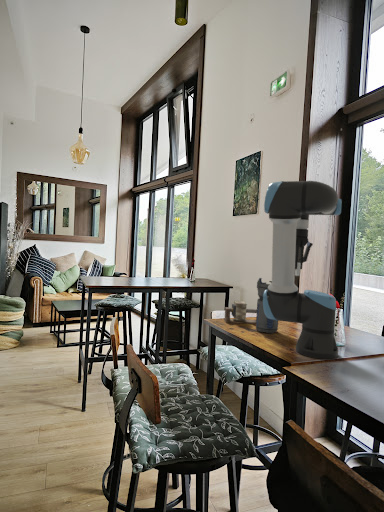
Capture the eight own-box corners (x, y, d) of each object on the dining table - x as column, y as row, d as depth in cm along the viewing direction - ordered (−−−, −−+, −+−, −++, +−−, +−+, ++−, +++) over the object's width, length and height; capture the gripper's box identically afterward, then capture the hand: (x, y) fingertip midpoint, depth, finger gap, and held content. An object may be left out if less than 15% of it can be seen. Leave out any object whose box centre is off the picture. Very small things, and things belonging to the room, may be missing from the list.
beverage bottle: (285, 334, 158) (289, 280, 157) (257, 333, 157) (260, 279, 156) (278, 329, 168) (281, 278, 168) (251, 328, 167) (254, 277, 166)
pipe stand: (264, 321, 184) (265, 308, 184) (268, 324, 177) (269, 311, 177) (224, 319, 183) (224, 306, 183) (226, 322, 176) (226, 309, 176)
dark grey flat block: (233, 314, 183) (234, 304, 182) (235, 316, 177) (236, 305, 177) (231, 314, 183) (232, 304, 182) (233, 316, 177) (233, 305, 177)
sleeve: (242, 317, 184) (243, 301, 184) (245, 320, 176) (246, 303, 176) (233, 316, 184) (234, 300, 184) (235, 320, 176) (236, 303, 175)
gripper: (310, 229, 176) (307, 275, 177) (285, 228, 175) (282, 274, 176) (316, 229, 169) (313, 276, 169) (290, 227, 168) (287, 275, 169)
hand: (297, 275), depth 173 cm, fingers closed
